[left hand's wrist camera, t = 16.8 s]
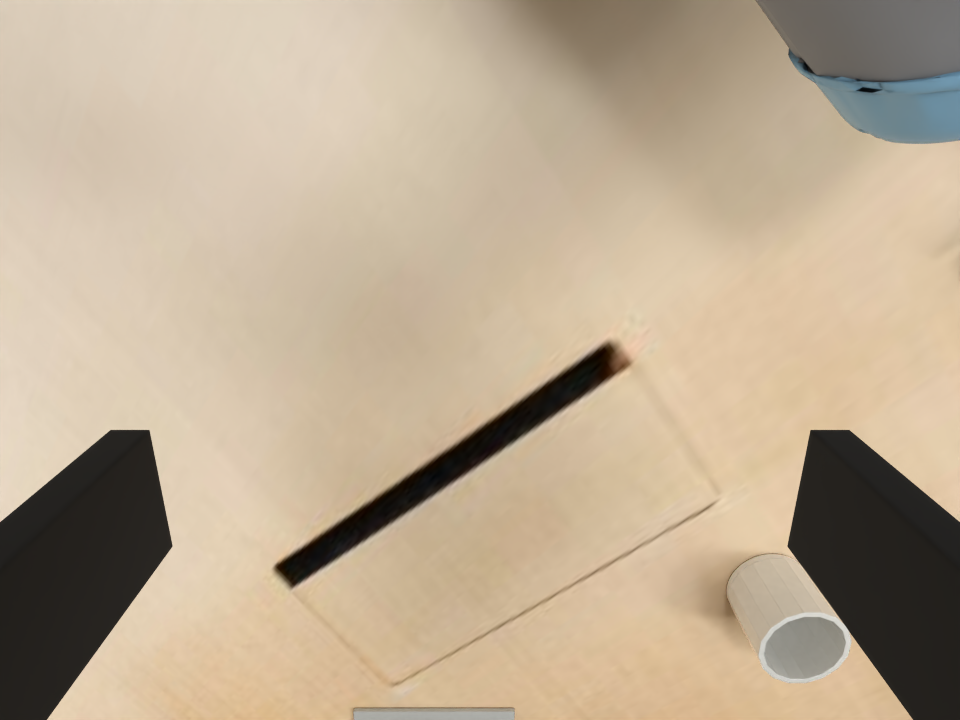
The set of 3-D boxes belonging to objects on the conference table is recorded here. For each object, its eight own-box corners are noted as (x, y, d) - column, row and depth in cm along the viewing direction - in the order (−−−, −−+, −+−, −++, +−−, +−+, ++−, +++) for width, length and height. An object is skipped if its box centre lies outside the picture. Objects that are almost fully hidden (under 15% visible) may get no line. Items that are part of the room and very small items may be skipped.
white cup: (732, 553, 50) (766, 612, 44) (813, 553, 50) (859, 612, 44) (721, 618, 53) (752, 683, 47) (799, 618, 53) (841, 683, 47)
